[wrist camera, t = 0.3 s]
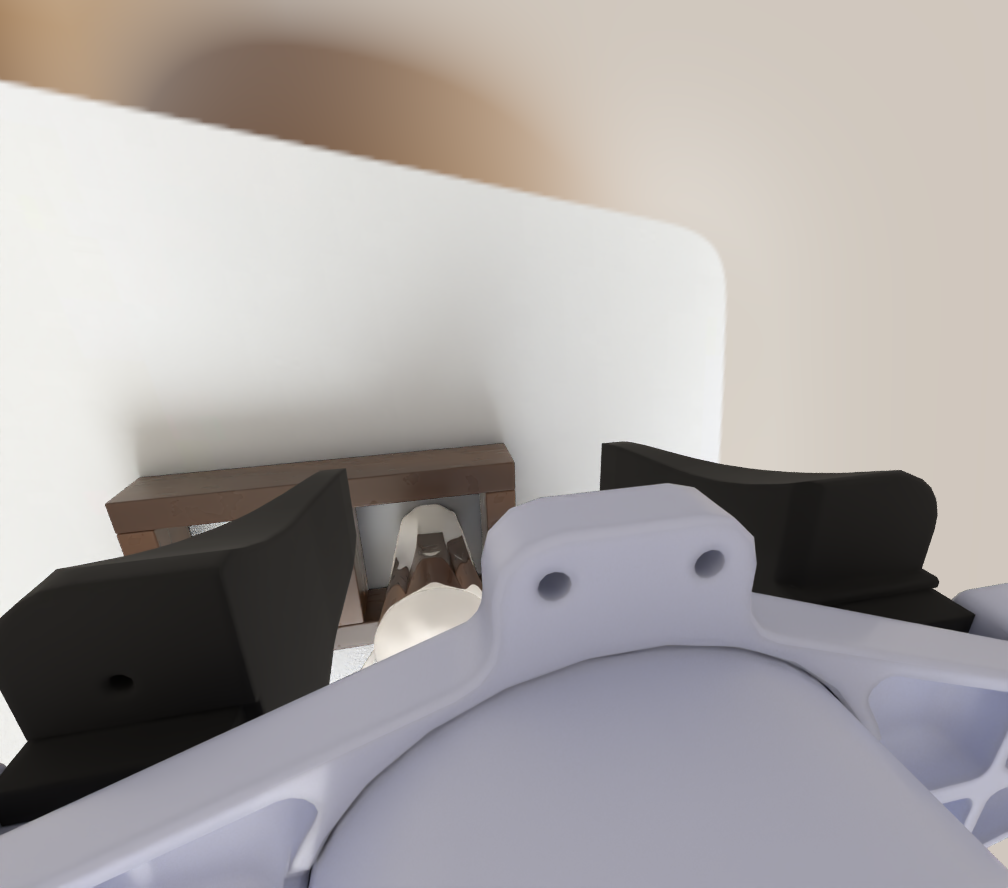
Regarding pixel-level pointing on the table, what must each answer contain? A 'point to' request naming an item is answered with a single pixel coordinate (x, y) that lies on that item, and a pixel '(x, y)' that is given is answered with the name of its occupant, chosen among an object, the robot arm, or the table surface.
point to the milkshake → (426, 582)
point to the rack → (236, 492)
